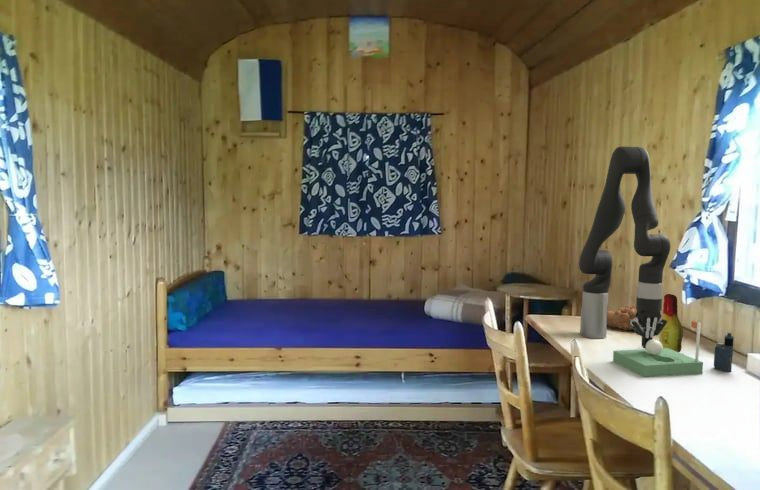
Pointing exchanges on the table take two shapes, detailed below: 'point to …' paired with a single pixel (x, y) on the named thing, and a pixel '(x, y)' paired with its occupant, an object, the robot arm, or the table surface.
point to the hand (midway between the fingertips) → (646, 348)
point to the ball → (654, 347)
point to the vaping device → (724, 354)
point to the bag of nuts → (622, 317)
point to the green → (660, 360)
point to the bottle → (671, 325)
